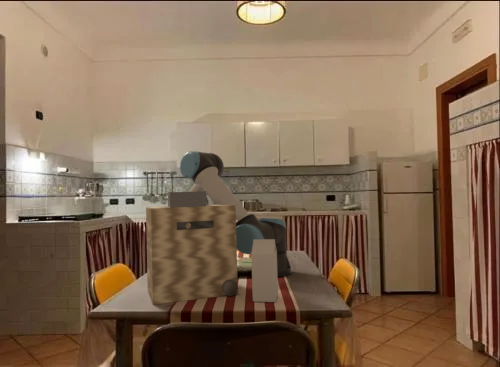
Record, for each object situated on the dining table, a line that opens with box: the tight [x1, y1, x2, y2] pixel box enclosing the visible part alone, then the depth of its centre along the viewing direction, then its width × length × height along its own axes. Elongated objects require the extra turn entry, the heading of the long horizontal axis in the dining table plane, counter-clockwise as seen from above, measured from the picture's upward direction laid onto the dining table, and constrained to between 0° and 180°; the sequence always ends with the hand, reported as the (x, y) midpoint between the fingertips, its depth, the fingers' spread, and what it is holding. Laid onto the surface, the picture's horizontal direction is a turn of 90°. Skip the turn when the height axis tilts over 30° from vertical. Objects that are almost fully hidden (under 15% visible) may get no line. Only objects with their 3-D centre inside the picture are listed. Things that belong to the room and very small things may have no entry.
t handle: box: [167, 191, 208, 208], centre depth 134 cm, size 12×30×5 cm, turn 21°
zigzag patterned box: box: [145, 204, 239, 305], centre depth 128 cm, size 28×20×30 cm
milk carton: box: [250, 239, 279, 303], centre depth 118 cm, size 7×7×19 cm
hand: (173, 211), depth 150 cm, fingers open, 13 cm apart
